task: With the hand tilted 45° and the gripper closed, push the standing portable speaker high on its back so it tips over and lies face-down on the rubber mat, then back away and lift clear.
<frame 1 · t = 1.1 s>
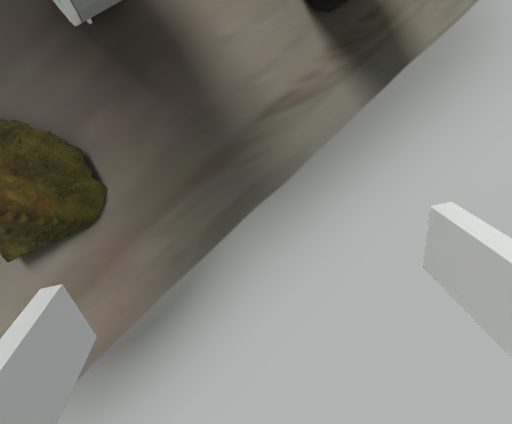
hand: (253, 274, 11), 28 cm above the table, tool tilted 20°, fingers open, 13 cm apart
mossy rock: (33, 193, 34), on the table
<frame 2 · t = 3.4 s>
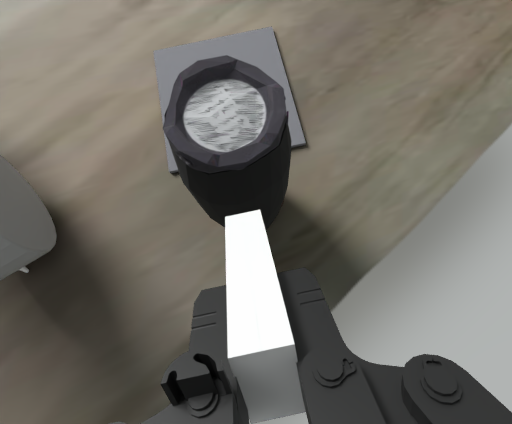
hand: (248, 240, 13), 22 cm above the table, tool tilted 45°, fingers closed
rubber mat: (224, 96, 41), on the table
portable speaker: (247, 205, 36), on the table
alarm clock: (34, 229, 37), on the table
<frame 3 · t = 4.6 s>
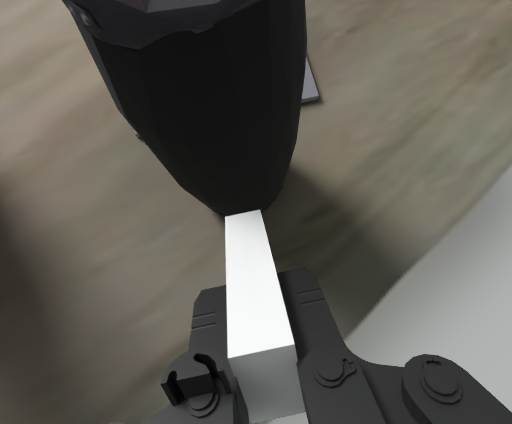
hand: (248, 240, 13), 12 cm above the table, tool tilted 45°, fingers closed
rubber mat: (211, 40, 31), on the table
portable speaker: (240, 179, 27), on the table
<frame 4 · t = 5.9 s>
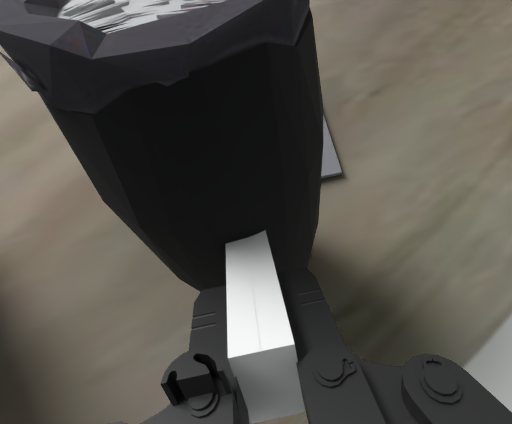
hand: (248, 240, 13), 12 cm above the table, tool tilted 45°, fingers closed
rubber mat: (222, 103, 29), on the table
portable speaker: (256, 266, 23), point 1 cm above the table
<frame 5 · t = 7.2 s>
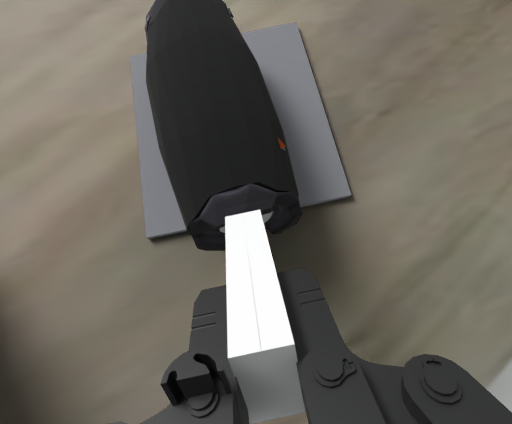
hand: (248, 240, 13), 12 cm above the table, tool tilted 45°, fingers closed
rubber mat: (230, 122, 29), on the table
portable speaker: (250, 235, 20), point 5 cm above the table, touching rubber mat
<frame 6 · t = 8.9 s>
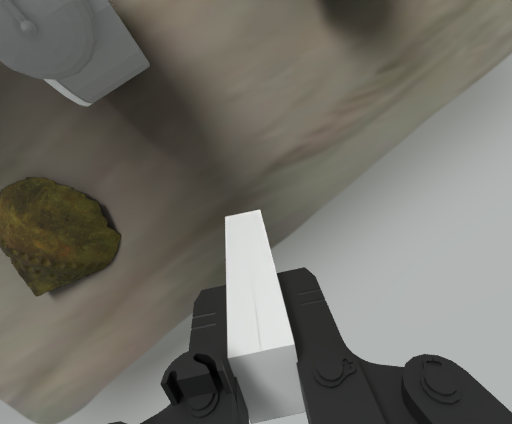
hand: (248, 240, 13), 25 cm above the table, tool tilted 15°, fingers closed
mossy rock: (60, 236, 38), on the table
alarm clock: (103, 40, 33), on the table
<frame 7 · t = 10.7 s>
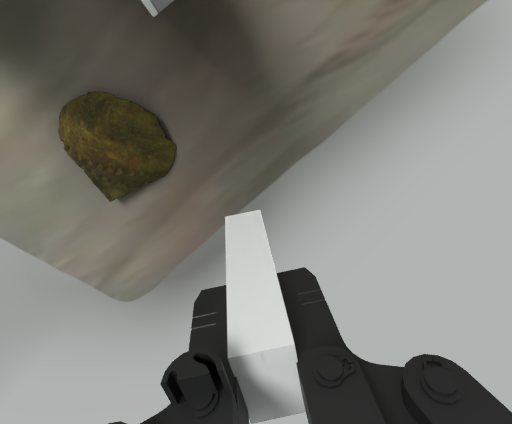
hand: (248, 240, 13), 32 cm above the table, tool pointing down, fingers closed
mossy rock: (121, 148, 42), on the table
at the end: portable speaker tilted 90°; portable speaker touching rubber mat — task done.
